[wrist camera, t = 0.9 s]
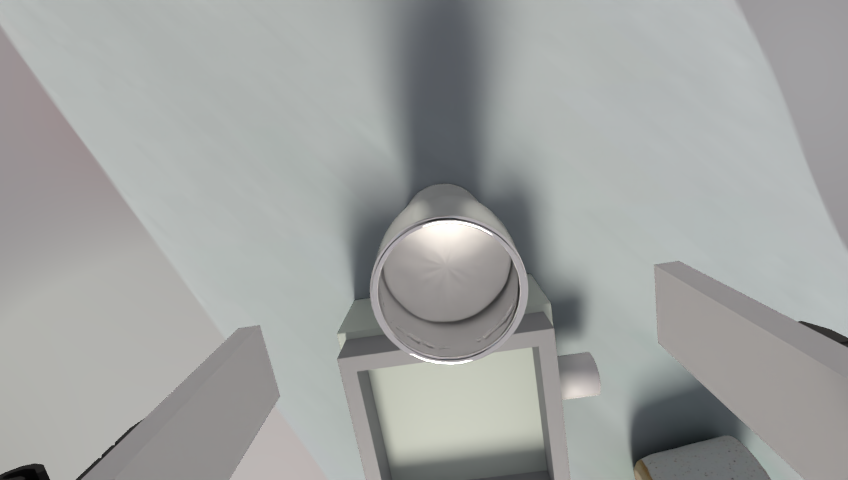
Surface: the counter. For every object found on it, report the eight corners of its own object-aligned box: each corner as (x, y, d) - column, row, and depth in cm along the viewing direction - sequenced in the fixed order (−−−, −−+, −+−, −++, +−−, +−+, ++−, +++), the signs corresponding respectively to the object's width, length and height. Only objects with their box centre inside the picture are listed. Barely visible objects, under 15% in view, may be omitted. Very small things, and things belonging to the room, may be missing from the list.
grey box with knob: (354, 300, 34) (327, 352, 25) (569, 267, 32) (614, 311, 24) (387, 449, 37) (372, 539, 28) (584, 424, 35) (629, 511, 27)
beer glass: (379, 211, 32) (330, 272, 17) (456, 158, 31) (473, 175, 16) (431, 284, 33) (426, 397, 18) (507, 235, 32) (565, 315, 17)
